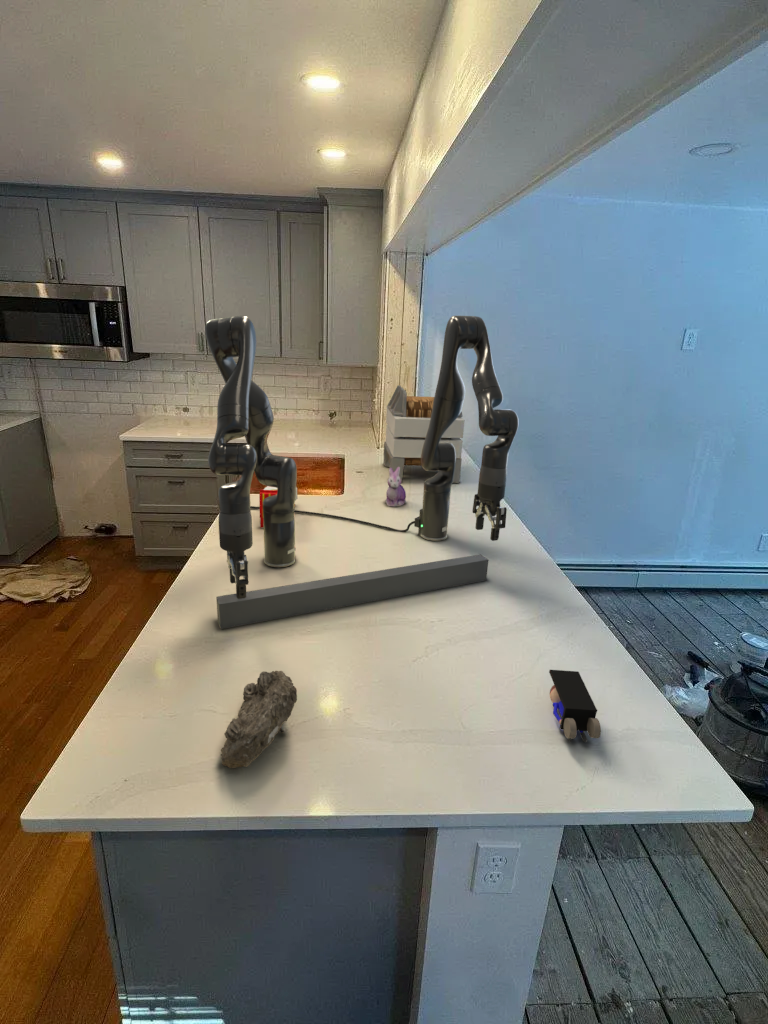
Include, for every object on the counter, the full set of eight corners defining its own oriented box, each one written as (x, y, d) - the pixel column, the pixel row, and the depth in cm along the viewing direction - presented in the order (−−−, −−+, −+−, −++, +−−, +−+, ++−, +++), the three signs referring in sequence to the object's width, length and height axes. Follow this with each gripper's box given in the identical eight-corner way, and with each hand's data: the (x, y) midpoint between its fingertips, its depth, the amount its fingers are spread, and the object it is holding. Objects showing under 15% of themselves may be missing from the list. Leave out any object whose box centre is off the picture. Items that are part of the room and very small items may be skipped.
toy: (299, 478, 224) (289, 491, 195) (299, 512, 227) (289, 529, 198) (268, 478, 224) (253, 490, 194) (268, 511, 226) (254, 528, 197)
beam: (478, 574, 172) (480, 554, 169) (486, 580, 168) (488, 559, 166) (217, 620, 141) (216, 596, 138) (220, 629, 137) (219, 604, 135)
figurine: (390, 508, 224) (392, 471, 219) (379, 500, 233) (380, 465, 228) (411, 505, 229) (413, 469, 223) (399, 498, 237) (401, 463, 232)
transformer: (382, 463, 289) (386, 382, 275) (445, 464, 293) (451, 384, 279) (390, 482, 257) (394, 392, 243) (460, 483, 261) (468, 394, 247)
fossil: (239, 671, 114) (294, 639, 110) (270, 702, 117) (325, 672, 112) (196, 762, 95) (261, 727, 90) (236, 796, 98) (300, 764, 93)
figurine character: (598, 755, 105) (572, 695, 118) (607, 725, 101) (580, 667, 115) (562, 754, 104) (541, 694, 118) (570, 724, 101) (547, 666, 114)
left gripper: (214, 519, 137) (217, 579, 143) (224, 540, 125) (227, 605, 130) (245, 516, 140) (247, 575, 146) (258, 536, 128) (259, 600, 133)
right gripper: (468, 474, 164) (463, 527, 169) (494, 489, 151) (487, 545, 157) (490, 473, 166) (485, 525, 172) (518, 487, 154) (511, 542, 159)
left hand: (238, 589), depth 138 cm, fingers open, 8 cm apart
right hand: (486, 534), depth 164 cm, fingers open, 8 cm apart
